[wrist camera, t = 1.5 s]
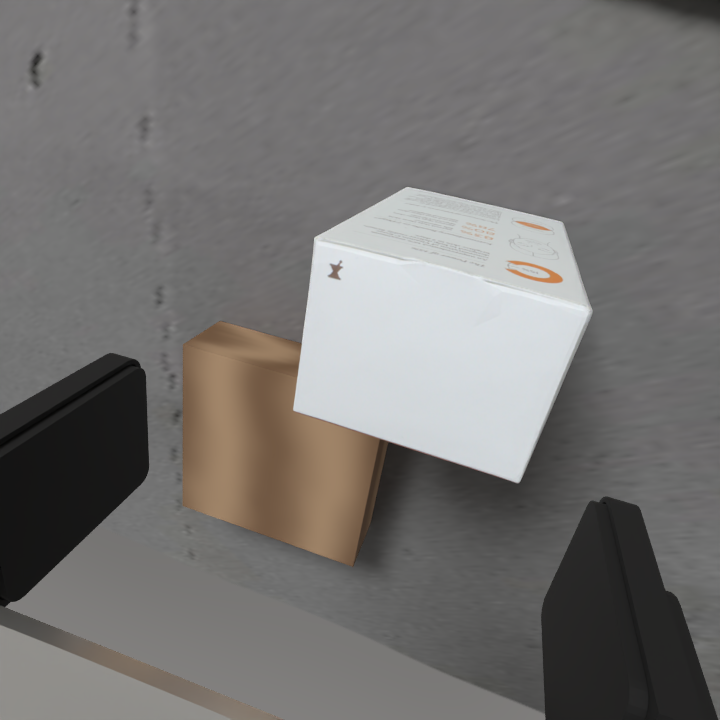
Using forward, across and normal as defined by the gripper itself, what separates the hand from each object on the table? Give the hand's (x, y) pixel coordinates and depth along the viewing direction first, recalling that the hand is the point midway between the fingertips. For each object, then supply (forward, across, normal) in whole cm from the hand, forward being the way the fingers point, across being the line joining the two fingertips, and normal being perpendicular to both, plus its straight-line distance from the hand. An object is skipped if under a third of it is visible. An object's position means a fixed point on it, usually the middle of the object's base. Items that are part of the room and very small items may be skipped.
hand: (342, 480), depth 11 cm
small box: (+19, -1, 0) cm, 19 cm away
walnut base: (+19, +7, +13) cm, 24 cm away
